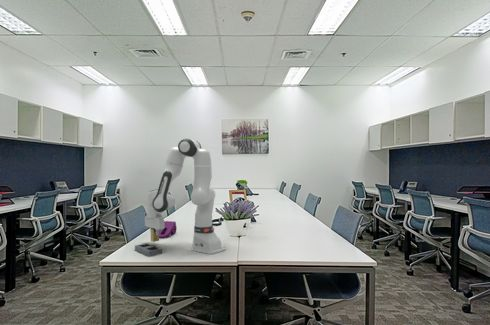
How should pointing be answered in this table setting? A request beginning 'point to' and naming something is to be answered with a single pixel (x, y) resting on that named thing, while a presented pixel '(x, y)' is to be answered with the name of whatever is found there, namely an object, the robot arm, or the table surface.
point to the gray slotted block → (148, 249)
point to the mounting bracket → (168, 229)
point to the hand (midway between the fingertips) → (154, 234)
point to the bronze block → (153, 236)
